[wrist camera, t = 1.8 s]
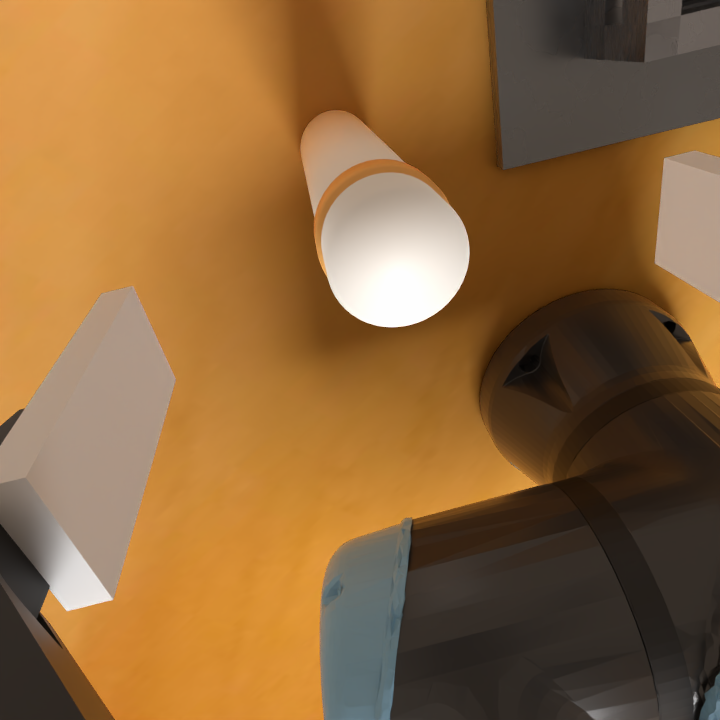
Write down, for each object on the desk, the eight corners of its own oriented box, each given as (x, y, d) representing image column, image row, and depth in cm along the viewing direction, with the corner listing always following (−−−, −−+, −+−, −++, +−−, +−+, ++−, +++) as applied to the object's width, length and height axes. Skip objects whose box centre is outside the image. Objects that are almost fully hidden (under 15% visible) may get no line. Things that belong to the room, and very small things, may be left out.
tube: (381, 179, 32) (481, 312, 16) (308, 196, 32) (339, 347, 16) (366, 98, 29) (467, 164, 14) (288, 117, 29) (302, 203, 14)
